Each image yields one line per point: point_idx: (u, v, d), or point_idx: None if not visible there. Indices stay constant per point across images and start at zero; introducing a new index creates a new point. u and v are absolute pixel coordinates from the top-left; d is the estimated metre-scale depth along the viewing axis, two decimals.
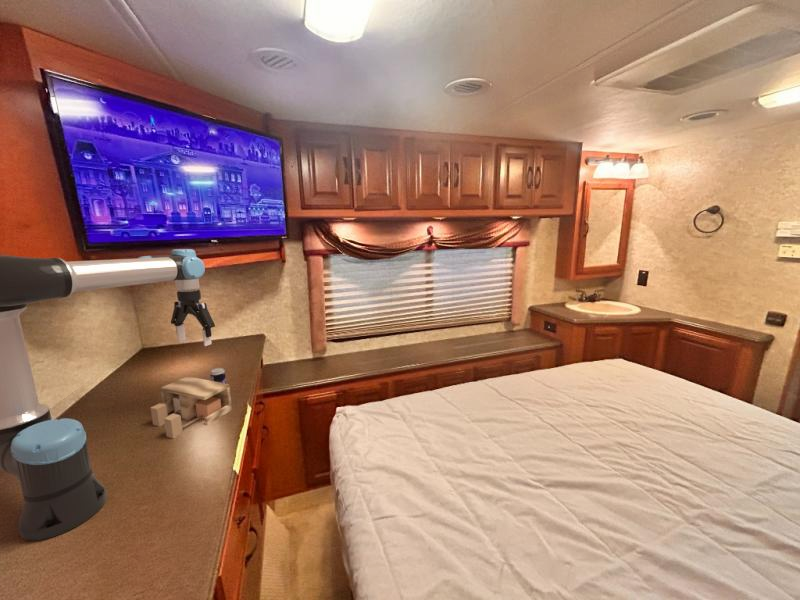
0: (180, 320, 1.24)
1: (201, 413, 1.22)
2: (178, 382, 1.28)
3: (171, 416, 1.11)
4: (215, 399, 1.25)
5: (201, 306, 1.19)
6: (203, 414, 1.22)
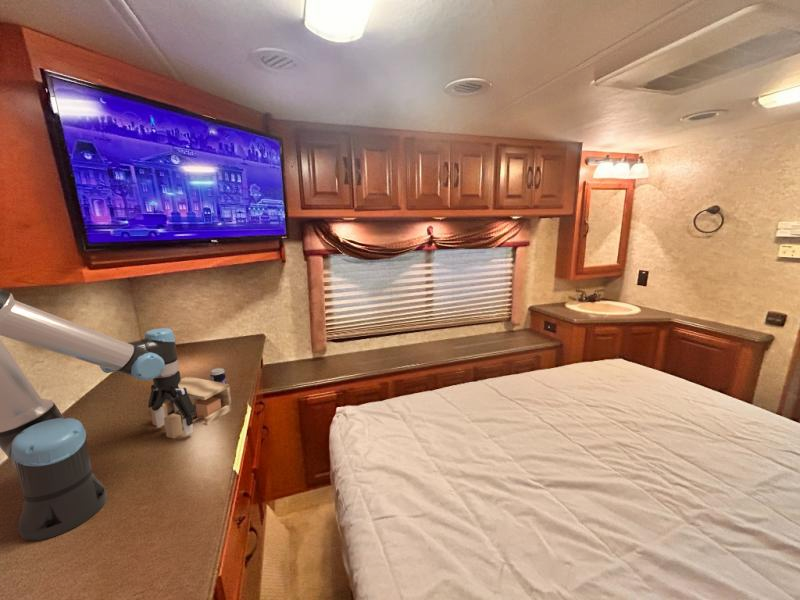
0: (158, 404, 1.11)
1: (201, 413, 1.22)
2: None
3: (171, 416, 1.11)
4: (215, 399, 1.25)
5: (180, 393, 1.06)
6: (203, 414, 1.22)
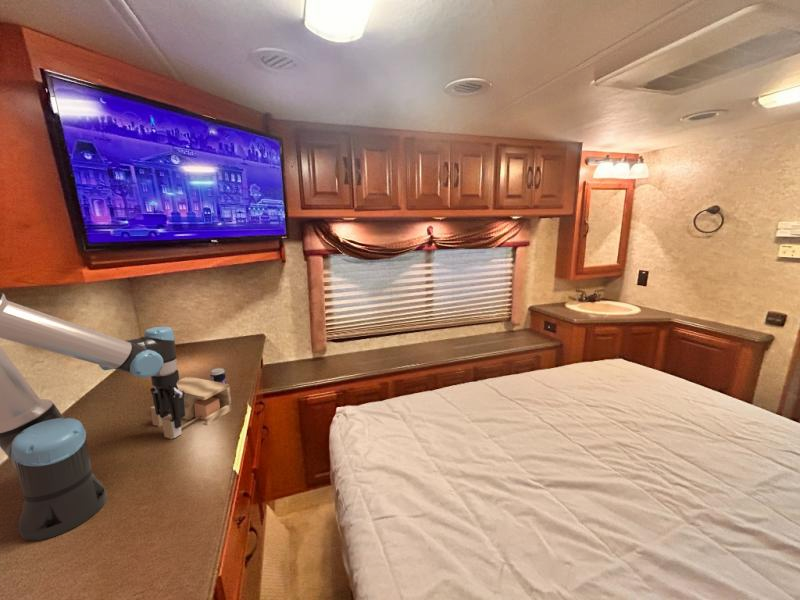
0: (164, 409, 1.10)
1: (200, 413, 1.21)
2: (178, 382, 1.28)
3: (169, 416, 1.10)
4: (214, 399, 1.25)
5: (178, 397, 1.06)
6: (202, 414, 1.21)
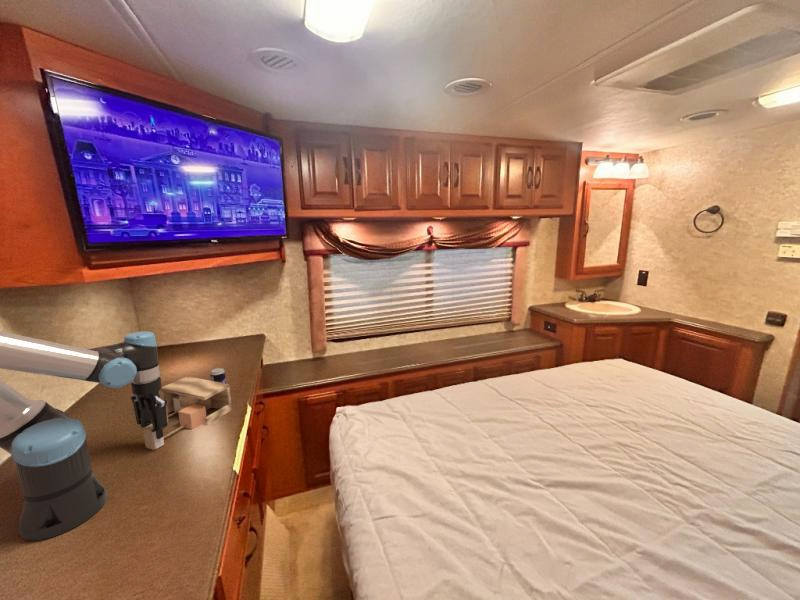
0: (145, 418, 1.04)
1: (184, 422, 1.16)
2: (178, 382, 1.28)
3: (151, 426, 1.05)
4: (199, 407, 1.19)
5: (160, 406, 1.00)
6: (186, 423, 1.16)
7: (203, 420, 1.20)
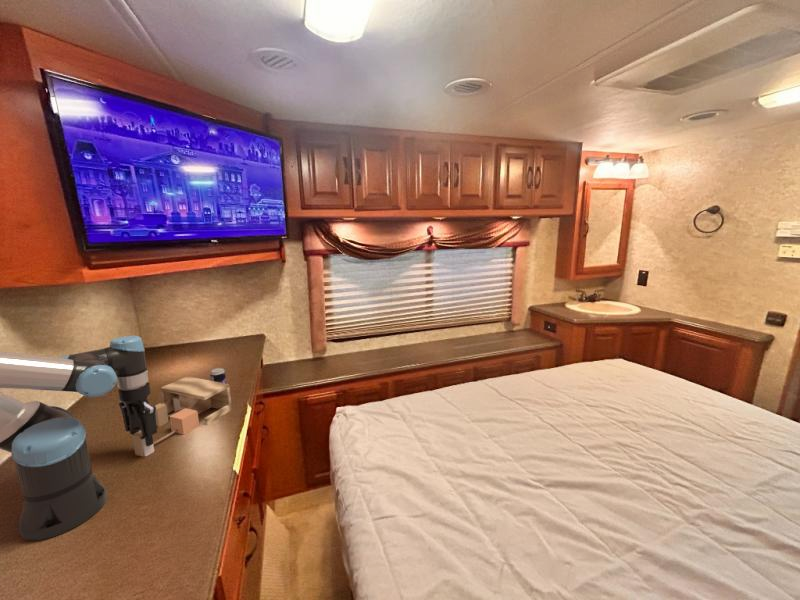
0: (134, 425, 1.01)
1: (176, 427, 1.13)
2: (178, 382, 1.28)
3: (140, 432, 1.02)
4: (192, 412, 1.16)
5: (148, 412, 0.97)
6: (178, 428, 1.12)
7: (195, 425, 1.16)
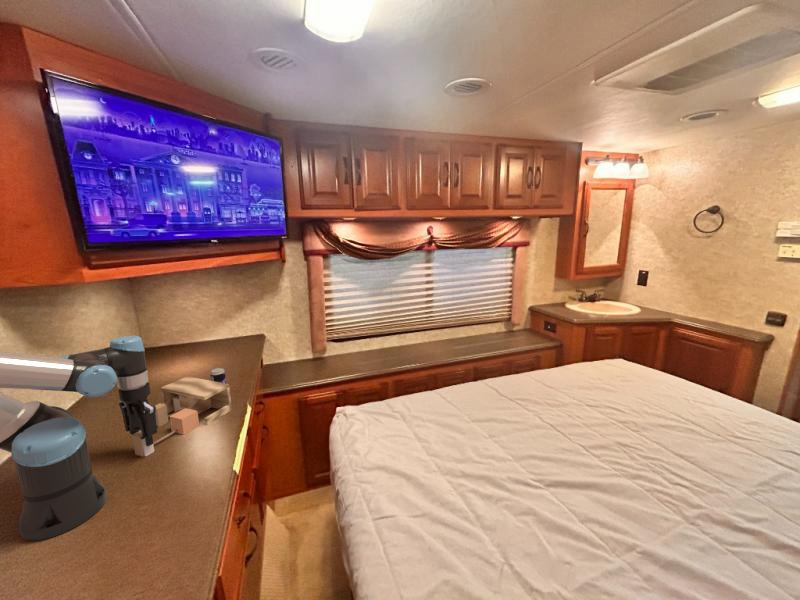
0: (134, 425, 1.01)
1: (176, 427, 1.13)
2: (178, 382, 1.28)
3: (140, 432, 1.02)
4: (192, 412, 1.16)
5: (148, 412, 0.97)
6: (178, 428, 1.12)
7: (195, 425, 1.16)
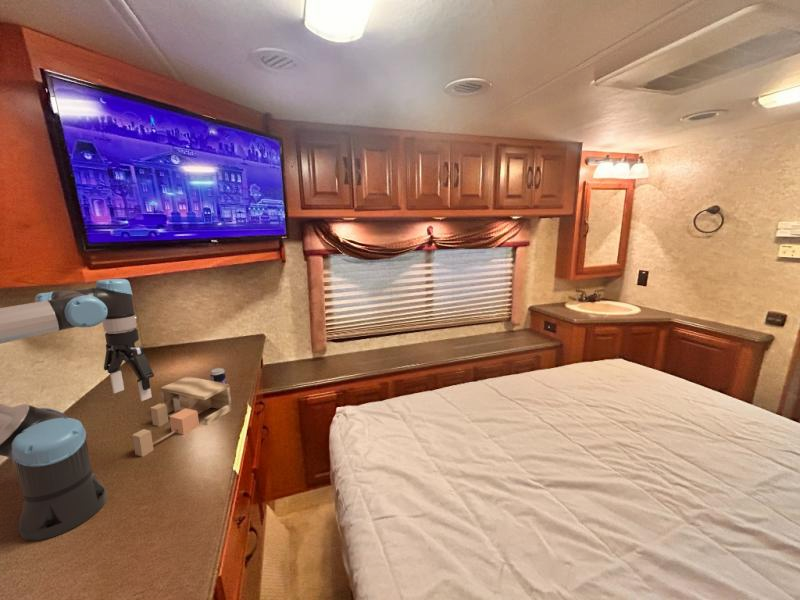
0: (114, 366, 0.99)
1: (176, 427, 1.13)
2: (178, 382, 1.28)
3: (140, 432, 1.02)
4: (192, 412, 1.16)
5: (135, 352, 0.94)
6: (178, 428, 1.12)
7: (195, 425, 1.16)
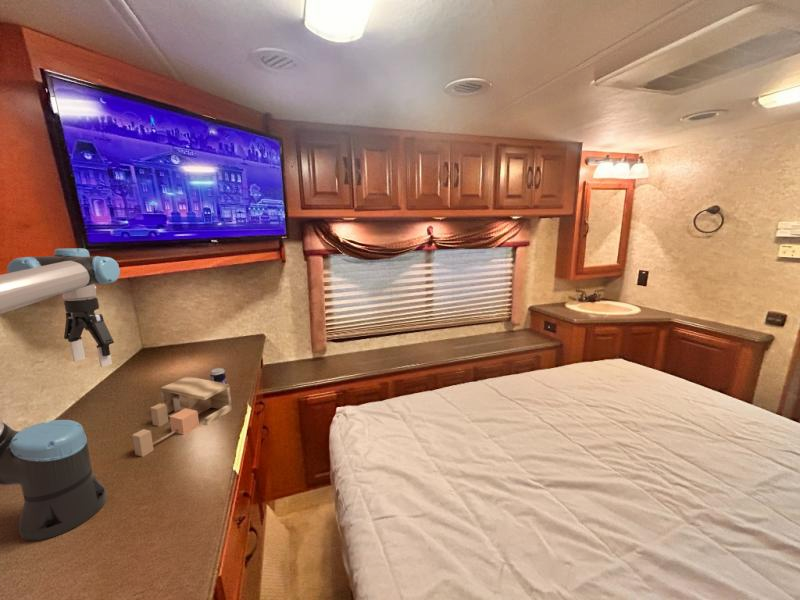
0: (74, 335, 1.02)
1: (176, 427, 1.13)
2: (178, 382, 1.28)
3: (140, 432, 1.02)
4: (192, 412, 1.16)
5: (94, 318, 0.97)
6: (178, 428, 1.12)
7: (195, 425, 1.16)
